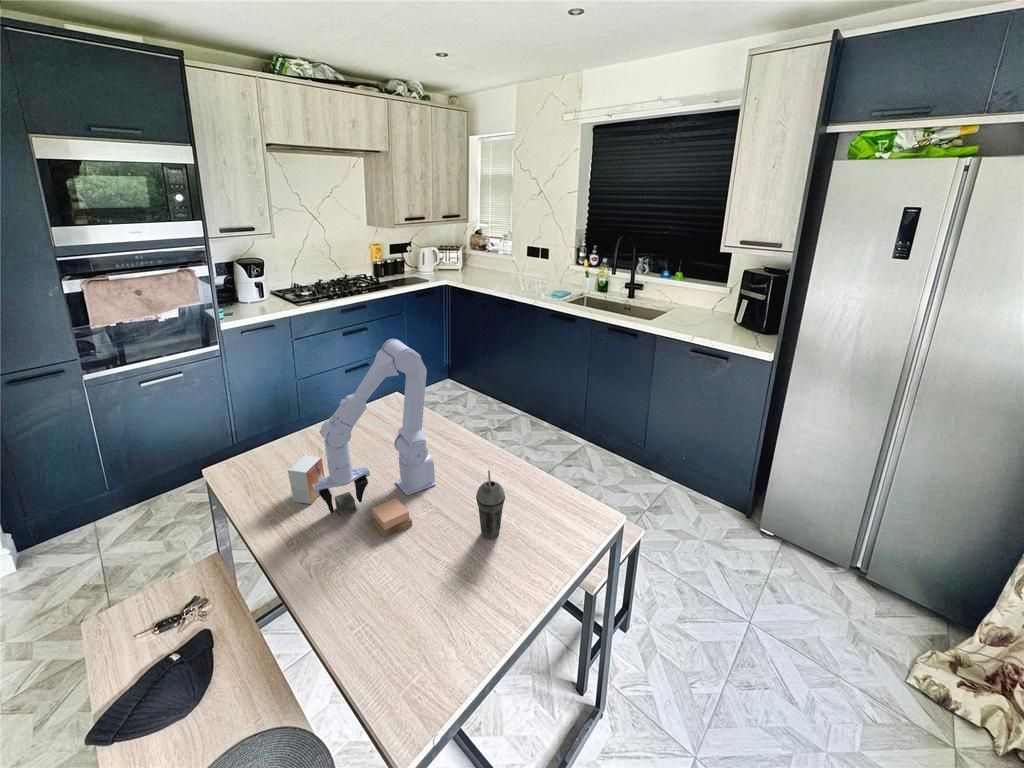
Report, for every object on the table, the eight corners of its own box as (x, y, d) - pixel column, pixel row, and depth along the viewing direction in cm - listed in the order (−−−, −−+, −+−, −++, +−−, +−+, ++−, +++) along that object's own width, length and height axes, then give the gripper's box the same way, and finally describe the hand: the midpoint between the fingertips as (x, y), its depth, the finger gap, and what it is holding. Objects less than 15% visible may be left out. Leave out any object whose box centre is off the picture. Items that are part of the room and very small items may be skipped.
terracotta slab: (396, 505, 134) (396, 497, 133) (409, 519, 129) (408, 511, 128) (372, 515, 130) (371, 508, 128) (384, 530, 125) (383, 522, 124)
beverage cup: (508, 528, 129) (510, 463, 121) (498, 546, 123) (499, 480, 115) (482, 521, 131) (482, 457, 123) (471, 539, 125) (470, 473, 117)
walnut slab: (399, 511, 135) (398, 503, 134) (412, 527, 130) (411, 519, 128) (371, 522, 131) (370, 514, 130) (383, 539, 125) (382, 532, 124)
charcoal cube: (350, 503, 137) (349, 491, 135) (356, 511, 134) (354, 499, 132) (336, 508, 135) (334, 496, 133) (341, 516, 132) (339, 504, 130)
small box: (311, 505, 136) (305, 473, 131) (293, 502, 137) (286, 470, 132) (327, 487, 143) (322, 456, 139) (309, 485, 144) (304, 454, 140)
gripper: (361, 447, 135) (365, 488, 141) (306, 464, 127) (313, 507, 133) (370, 459, 130) (375, 501, 136) (314, 478, 122) (321, 521, 128)
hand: (345, 505), depth 134 cm, fingers open, 7 cm apart
